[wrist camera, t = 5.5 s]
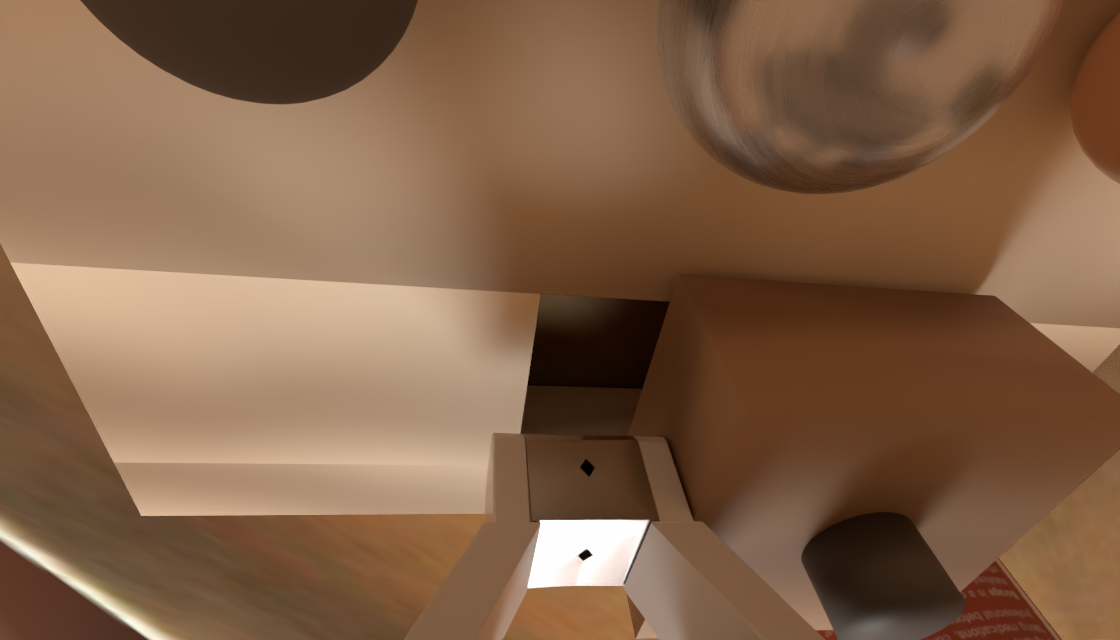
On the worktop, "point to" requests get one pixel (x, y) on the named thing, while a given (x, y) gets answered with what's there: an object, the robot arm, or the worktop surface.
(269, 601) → the worktop surface
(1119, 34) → the terracotta ball
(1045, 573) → the worktop surface
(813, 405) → the cover
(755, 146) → the steel ball
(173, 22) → the black rubber ball
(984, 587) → the pill bottle
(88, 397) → the board
